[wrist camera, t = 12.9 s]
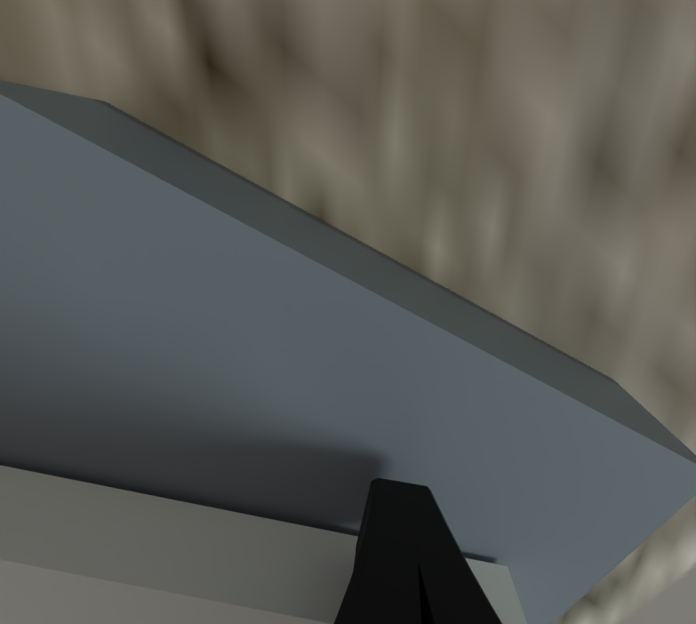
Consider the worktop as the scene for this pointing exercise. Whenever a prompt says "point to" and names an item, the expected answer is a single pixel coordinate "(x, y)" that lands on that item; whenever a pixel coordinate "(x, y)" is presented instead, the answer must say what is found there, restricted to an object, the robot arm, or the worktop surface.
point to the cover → (172, 561)
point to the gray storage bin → (292, 363)
